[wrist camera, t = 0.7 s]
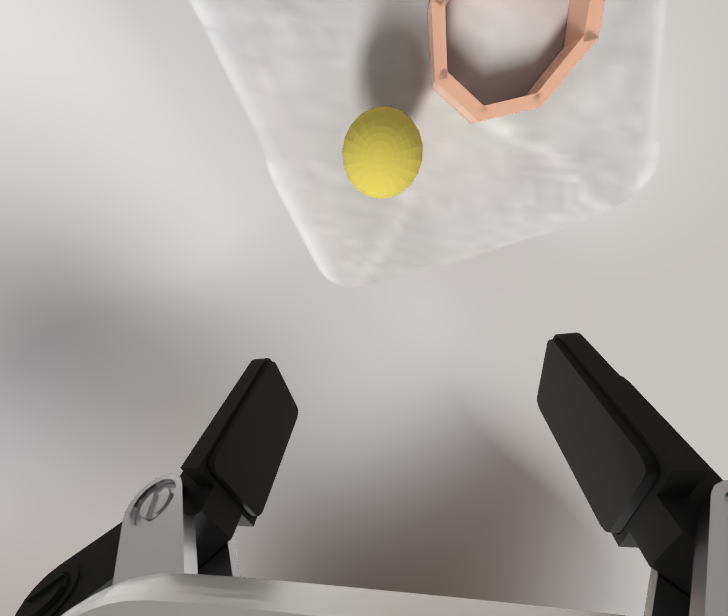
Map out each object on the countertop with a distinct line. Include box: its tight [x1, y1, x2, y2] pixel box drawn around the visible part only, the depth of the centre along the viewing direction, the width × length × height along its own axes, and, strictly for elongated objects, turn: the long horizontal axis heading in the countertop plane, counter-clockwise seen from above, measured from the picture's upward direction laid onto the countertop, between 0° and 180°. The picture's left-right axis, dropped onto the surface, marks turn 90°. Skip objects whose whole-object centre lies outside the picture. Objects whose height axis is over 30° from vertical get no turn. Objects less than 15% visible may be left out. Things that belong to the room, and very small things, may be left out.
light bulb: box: [342, 106, 423, 199], centre depth 24 cm, size 7×7×10 cm
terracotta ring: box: [427, 0, 605, 123], centre depth 21 cm, size 12×12×3 cm
